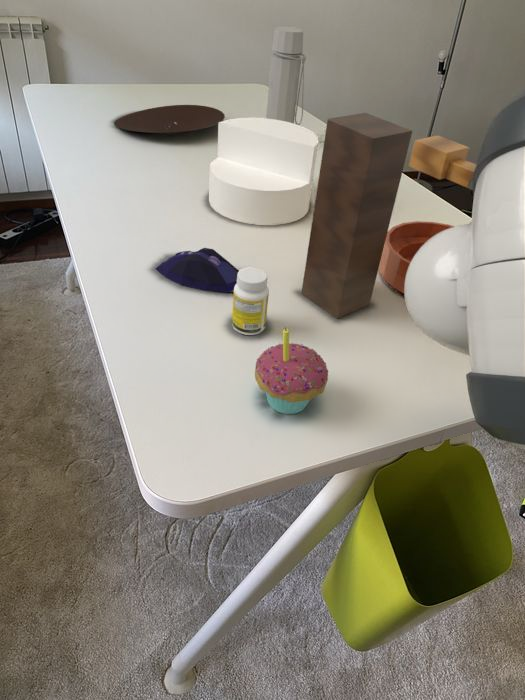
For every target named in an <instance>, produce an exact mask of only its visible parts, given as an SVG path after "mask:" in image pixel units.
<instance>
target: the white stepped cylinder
mask: <svg viewBox="0 0 525 700" xmlns="http://www.w3.org/2000/svg"><path fill="white" fill-rule="evenodd" d="M297 124H298V123H297ZM297 124H296V123H294V124H293V123H290V122H286V121H281V120H275V119H267V118H266V117H237V118H230V119H224V120H223V121H221V122H219V123H218V124H217V125H218V127H217V128H218V129H217V156H216V158H214V159H213V160H212V161H211V163H210V164H209V180H208V182H209V183H208V201H209V205H210V206H211V209H213V210H214V211H215V212H216V213H218V214H219V215H221V216H223V217H225V218H227V219H230V220H233V221H234V222H235V221H236V222H239V223H244V224H249V225H256V226H278V225H286V224H290V223H293V222H296V221H299V220H301V219H302V218H304V217H305V216H306V215H307V213H308V212H309V210H310V209H309V208H310V202H311V194H312V188H313V181H314V173H315V168H316V161H317V153H318V146H319V137H318V135H317V134H316V133H315V132H313V131H312V130H310V129H309V128H307V127H304V126H302V125H301V124H300V125H297Z"/></svg>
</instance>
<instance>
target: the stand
mask: <svg viewBox="0 0 525 700" xmlns="http://www.w3.org/2000/svg"><path fill="white" fill-rule="evenodd" d="M326 121H327V122H326V128H325V134H324V141H323V147H322V155H321V160H320V168H319V174H318V181H317V188H316V195H315V199H314V205H313V207H314V208H313V214H312V219H311V227H310V234H309V238H308V239H309V241H308V248H307V254H306V260H305V266H304V271H303V273H304V274H303V278H302V279H303V280H302V286H301V294H302V295H303V296H304V297H305V298H307V299H308V300H310V301H311V302H312V303H314V304H315V305H317V306H318V307H320V308H321V309H323V310H324V311H325V312H326V313H328V314H329V315H331V316H332V317H334V318H335V319H336V320H337V319H341V318H343V317H345V316H347V315H349V314H352V313H354V312H356V311H358V310H361V309H363V308H367V307H368V306H370V305H371V300H372V296H373V293H374V288H375V284H376V280H377V276H378V272H379V264H380V260H381V256H382V252H383V248H384V244H385V240H386V236H387V232H388V231H389V228H390V224H391V219H392V215H393V213H394V207H395V204H396V200H397V196H398V192H399V189H400V188H399V187H400V183H401V179H402V175H403V172H404V167H405V163H406V159H407V155H408V150H409V148H410V143H411V138H412V135H413V130H412V129H409V128H406V127H404V126H401V125H398V124H397V123H393V122H392V121H388V120H387V119H386V120H385V119H384V118H381V117H378V116H375V115H373V114H371V113H369V112H362V113H355V114H350V115H343V116H337V117H331V118H327V120H326Z"/></svg>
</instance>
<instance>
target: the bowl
mask: <svg viewBox="0 0 525 700" xmlns="http://www.w3.org/2000/svg"><path fill="white" fill-rule="evenodd" d="M452 227H456V226H455V225H451V224H448V223H441V222H435V221H423V220H421V221H419V220H416V221H408V222H401V223H399V224H397V225H394V226H392V227H391V228H390V229H388V232H387V236H386V240H385V244H384V248H383V252H382V256H381V260H380V264H379V268H378V272H379V273H380V275H381V277H382V278H383V279H384V281H386V282H387V284H389V285H390V287H392V289H393V288H394V289H395V290H397V291H398V292H400V293H402V294H404V283H405V277H406V273H407V270H408V267H409V265H410V263H411V260H412V259H413V257H414V255H415V254H416V253H417V251H418V250H419V249H420V248H421V246H423V245H424V244H425V243H426V242H427V241H428V240H429V239H430V238H432V237H433V236H434V235H436V234H438V233H440V232H441V231H444V230H446V229H448V228H452Z"/></svg>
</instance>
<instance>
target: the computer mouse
mask: <svg viewBox="0 0 525 700" xmlns="http://www.w3.org/2000/svg"><path fill="white" fill-rule="evenodd" d="M155 270H156V271H157V272H159V274H161V275H162V276H163V277H164V278H166V279H168V280H170V281H171V282H174V283H176V284H178V285H179V286H181V287H182V286H183V287H187V288H191V289H195V290H200V291H205V292H214V293H222V294H229V293H232V292H234V287H235V285H236V284H237V274H238V272H239V270H240V269H238V268H237V267H236V266H234V265H233V264H232V263H231V262H229V260H227V259H226V258H225V257H223V256H222V255H221V254H219V253H218V252H217V251H216V250H215V249H214V248H208V247H203V248H200V249H198V250H196V251H191V250H186V251H179V252H177V253H175V254H174V255H172V256H170V257H168V258H167V259H165V260H164V261H162V262H161V263H160V264H159V265H158V266H157V267H155Z"/></svg>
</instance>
